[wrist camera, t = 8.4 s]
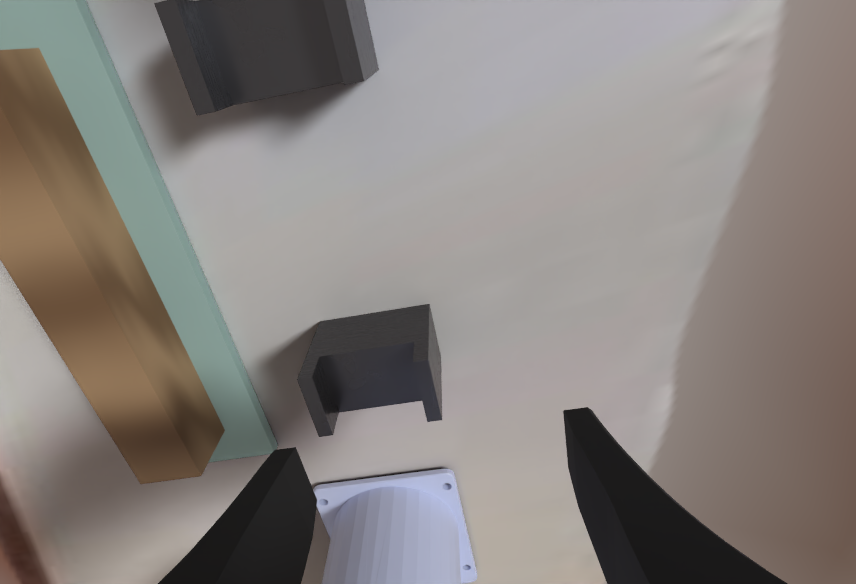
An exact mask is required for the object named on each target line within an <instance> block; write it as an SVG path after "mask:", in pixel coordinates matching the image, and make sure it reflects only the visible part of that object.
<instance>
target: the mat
mask: <svg viewBox="0 0 856 584" xmlns="http://www.w3.org/2000/svg"><path fill="white" fill-rule="evenodd" d="M29 48H39V49H40V51H41V53H42V55H43V57H44V59H45V61H46V63H47V65H48V67H49V70H50V72H51V74H52V76H53V78H54V80H55V82H56V84H57V86H58V88H59V90H60V92H61V94H62V96H63V98H64V100H65V102H66V104H67V107H68V109H69V111H70V113H71V115H72V117H73V119H74V121H75V123H76V125H77V127H78V129H79V131H80V133H81V135H82V137H83V139H84V141H85V144H86V146H87V148H88V150H89V152H90V154H91V156H92V158H93V160H94V162H95V164H96V166H97V168H98V170H99V172H100V174H101V176H102V178H103V181H104V183H105V185H106V187H107V189H108V191H109V193H110V195H111V197H112V199H113V201H114V203H115V205H116V207H117V209H118V211H119V213H120V215H121V218H122V220H123V222H124V224H125V226H126V228H127V230H128V232H129V234H130V236H131V238H132V240H133V242H134V244H135V246H136V248H137V250H138V252H139V255H140V257H141V259H142V261H143V263H144V265H145V267H146V269H147V271H148V273H149V275H150V277H151V279H152V281H153V283H154V285H155V287H156V289H157V292H158V294H159V296H160V298H161V300H162V302H163V304H164V306H165V308H166V310H167V312H168V314H169V316H170V318H171V320H172V322H173V324H174V326H175V329H176V331H177V333H178V335H179V337H180V339H181V341H182V343H183V345H184V347H185V349H186V351H187V353H188V355H189V357H190V359H191V361H192V363H193V366H194V368H195V370H196V372H197V374H198V376H199V378H200V380H201V382H202V384H203V386H204V388H205V390H206V392H207V394H208V396H209V398H210V400H211V403H212V405H213V407H214V409H215V411H216V413H217V415H218V417H219V419H220V421H221V423H222V425H223V427H224V429H225V431H224V433H223V435H222V437H221V439H220V441H219V443H218V445H217V447H216V449H215V451H214V452H213V454H212V456H211V458H210V460H209V462H215V461H222V460H230V459H237V458H244V457H252V456H259V455H266V454H272V452H273V451H274V450H276V449H277V446H278V444H277V442H276V440H275V437H274V435H273V433H272V430H271V428H270V426H269V423H268V421H267V419H266V417H265V414H264V412H263V410H262V407H261V405H260V403H259V400H258V398H257V396H256V393H255V391H254V389H253V386H252V384H251V382H250V380H249V377H248V375H247V373H246V370H245V368H244V366H243V363H242V361H241V359H240V356H239V354H238V352H237V349H236V347H235V345H234V343H233V340H232V338H231V336H230V333H229V331H228V329H227V326H226V324H225V322H224V319H223V317H222V315H221V313H220V310H219V308H218V306H217V303H216V301H215V299H214V296H213V294H212V292H211V289H210V287H209V285H208V282H207V280H206V278H205V276H204V273H203V271H202V269H201V266H200V264H199V262H198V259H197V257H196V255H195V252H194V250H193V248H192V246H191V243H190V241H189V239H188V236H187V234H186V232H185V229H184V227H183V225H182V222H181V220H180V218H179V215H178V213H177V211H176V209H175V206H174V204H173V202H172V199H171V197H170V195H169V192H168V190H167V188H166V185H165V183H164V181H163V179H162V176H161V174H160V172H159V169H158V167H157V165H156V162H155V160H154V158H153V155H152V153H151V151H150V148H149V146H148V144H147V142H146V139H145V137H144V135H143V132H142V130H141V128H140V125H139V123H138V121H137V118H136V116H135V114H134V112H133V109H132V107H131V105H130V102H129V100H128V98H127V95H126V93H125V91H124V88H123V86H122V84H121V81H120V79H119V77H118V75H117V72H116V70H115V68H114V65H113V63H112V61H111V58H110V56H109V54H108V51H107V49H106V47H105V45H104V42H103V40H102V38H101V35H100V33H99V31H98V28H97V26H96V24H95V21H94V19H93V17H92V14H91V12H90V10H89V8H88V5H87V3H86V1H85V0H0V50H9V49H29Z"/></svg>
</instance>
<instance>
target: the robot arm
mask: <svg viewBox="0 0 856 584" xmlns="http://www.w3.org/2000/svg"><path fill="white" fill-rule="evenodd" d="M563 412H564V423H565V435H566V446H567V457H568V468H569V472H570V476H571V480H572V484H573V488H574V492H575V495H576V499H577V503H578V507H579V509H580V512H581V515H582V517H583V520H584V523H585V525H586V528H587V531H588V534H589V536H590V539H591V542H592V544H593V547H594V549H595V552H596V555H597V557H598V560H599V563H600V565H601V568H602V571H603V573H604V576H605V579H606V581H607V584H787V583H786V582H784V581H782V580H781V579H779V578H778V577H776V576H775V575H773V574H771V573H770V572H768V571H767V570H766V569H764V568H763V567H761V566H760V565H758V564H757V563H755V562H754V561H753V560H751V559H750V558H748V557H747V556H745V555H744V554H743V553H741V552H740V551H738V550H737V549H735V548H734V547H732V546H731V545H730V544H728V543H727V542H725V541H724V540H723V539H721V538H720V537H719V536H718V535H716V534H715V533H714V532H712V531H711V530H710V529H709V528H707V527H706V526H705V525H703V524H702V523H701V522H700V521H699V520H697V519H696V518H695V517H694V516H692V515H691V514H690V513H689V512H688V511H686V510H685V509H684V508H683V507H682V506H681V505H679V504H678V503H677V502H676V501H675V500H674V499H673V498H672V497H671V496H669V495H668V494H667V493H666V492H665V491H664V490H663V489H662V488H661V487H660V486H659V485H658V484H657V483H656V482H654V480H652V479H651V478H650V477H649V476H648V475H647V474H646V473H645V472H644V471H643V470H642V468H641V467H640V466H639V465H638V464H637V463H636V462H635V461H634V460H633V459H632V458H631V457H630V456H629V455H628V454H627V453H626V452H625V450H624V449H623V448H622V447H621V446H620V445H619V444H618V443H617V441H616V440H615V439H614V438H613V437H612V436H611V434H610V433H609V432H608V431H607V430H606V428H605V427H604V426H603V425H602V423H601V422H600V421H599V419H598V418H597V417H596V415H595V414H594V413H593V411H592V410H591V409H589V408H588V407H586V408H579V409H572V410H564V411H563ZM445 483H449V484H445ZM324 499H326V500H324ZM316 506H317V509H318V511H319V513H320V516H321V518H322V521H323V523H324V525H325V528H326V530H327V532H328V535H329V537H330V545H329V550H328V555H327V560H326V564H325V569H324V574H323V579H322V584H461V583H470V582H474V581H475V580H476V579H477V570H476V566H475V561H474V557H473V553H472V548H471V544H470V540H469V535H468V531H467V527H466V522H465V518H464V514H463V509H462V505H461V501H460V496H459V492H458V488H457V483H456V479H455V475H454V472H453V471H452V470H450V469H437V470H429V471H421V472H414V473H406V474H398V475H390V476H383V477H375V478H367V479H359V480H352V481H344V482H336V483H328V484H321V485H317V486H315V487H314V489H312V486H311V484H310V481H309V479H308V476H307V474H306V472H305V469H304V467H303V464H302V462H301V460H300V457H299V455H298V452H297V450H296V447H295V448H287V449H280V450H274V451H273V452H272V454H271V455H270V456H269V457H268V458H267V460H266V461H265V462H264V463H263V465H262V466H261V467H260V468H259V470H258V471H257V472H256V474H255V475H254V476H253V477H252V479H251V480H250V481H249V482H248V484H247V485H246V486H245V488H244V489H243V490H242V491H241V492H240V494H239V495H238V496H237V497H236V499H235V500H234V501H233V502H232V504H231V505H230V506H229V507H228V508H227V510H226V511H225V512H224V513H223V515H222V516H221V517H220V518H219V519H218V520H217V521H216V523H215V524H214V525H213V526H212V527H211V528H210V529H209V531H208V532H207V533H206V534H205V535H204V536H203V537H202V539H201V540H200V541H199V542H198V543H197V544H196V545H195V546H194V548H193V549H192V550H191V551H190V552H189V553H188V554H187V555H186V556H185V557H184V558H183V559H182V560H181V561H180V562H179V563H178V564H177V565H176V566H175V567H174V568H173V569H172V570H171V571H170V572H169V573H168V574H167V575H166V576H165V577H164V578H163V579H162V580H161V581H160V582H159V583H158V584H301V581H302V577H303V573H304V569H305V565H306V561H307V557H308V553H309V549H310V545H311V541H312V536H313V529H314V522H315V514H316Z"/></svg>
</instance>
